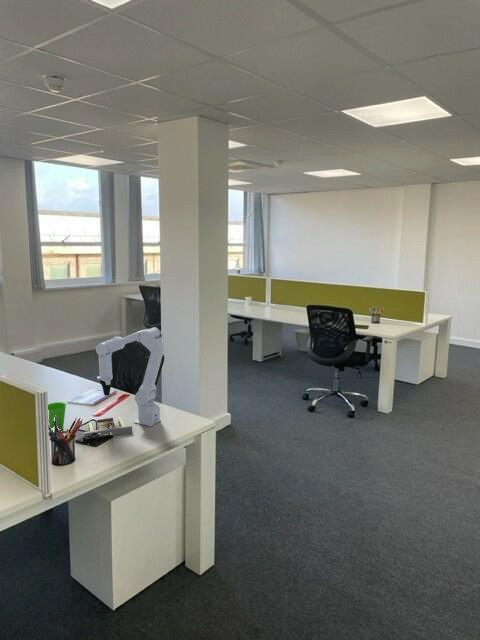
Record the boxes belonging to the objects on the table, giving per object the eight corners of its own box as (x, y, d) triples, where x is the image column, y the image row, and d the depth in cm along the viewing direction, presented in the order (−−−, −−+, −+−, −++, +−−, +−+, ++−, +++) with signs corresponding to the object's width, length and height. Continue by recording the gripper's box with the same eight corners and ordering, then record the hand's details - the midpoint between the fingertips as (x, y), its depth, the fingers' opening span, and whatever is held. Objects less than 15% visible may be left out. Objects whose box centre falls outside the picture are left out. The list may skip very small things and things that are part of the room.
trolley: (97, 427, 213) (96, 419, 212) (113, 424, 215) (112, 417, 215) (99, 435, 203) (99, 428, 203) (116, 433, 206) (116, 425, 205)
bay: (81, 428, 211) (81, 421, 211) (127, 421, 219) (126, 415, 219) (84, 440, 199) (84, 433, 199) (132, 432, 207) (132, 426, 206)
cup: (60, 434, 205) (59, 410, 203) (41, 432, 207) (40, 408, 205) (71, 426, 214) (70, 402, 212) (53, 424, 215) (52, 401, 213)
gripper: (94, 364, 226) (96, 391, 229) (98, 372, 213) (99, 401, 215) (109, 362, 229) (111, 389, 231) (114, 370, 216) (115, 399, 218)
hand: (106, 395), depth 224 cm, fingers closed
